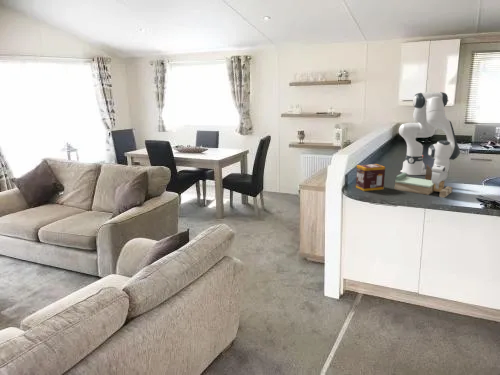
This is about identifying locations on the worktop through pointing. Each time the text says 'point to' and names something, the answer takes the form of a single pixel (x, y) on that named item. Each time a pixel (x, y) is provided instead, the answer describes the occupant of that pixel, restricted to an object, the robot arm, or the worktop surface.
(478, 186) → the worktop surface
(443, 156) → the robot arm
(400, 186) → the tan piece
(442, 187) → the brown wood block
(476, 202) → the worktop surface
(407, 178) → the lid
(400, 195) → the worktop surface
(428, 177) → the brown wooden bracket
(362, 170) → the supplement box
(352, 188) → the worktop surface
